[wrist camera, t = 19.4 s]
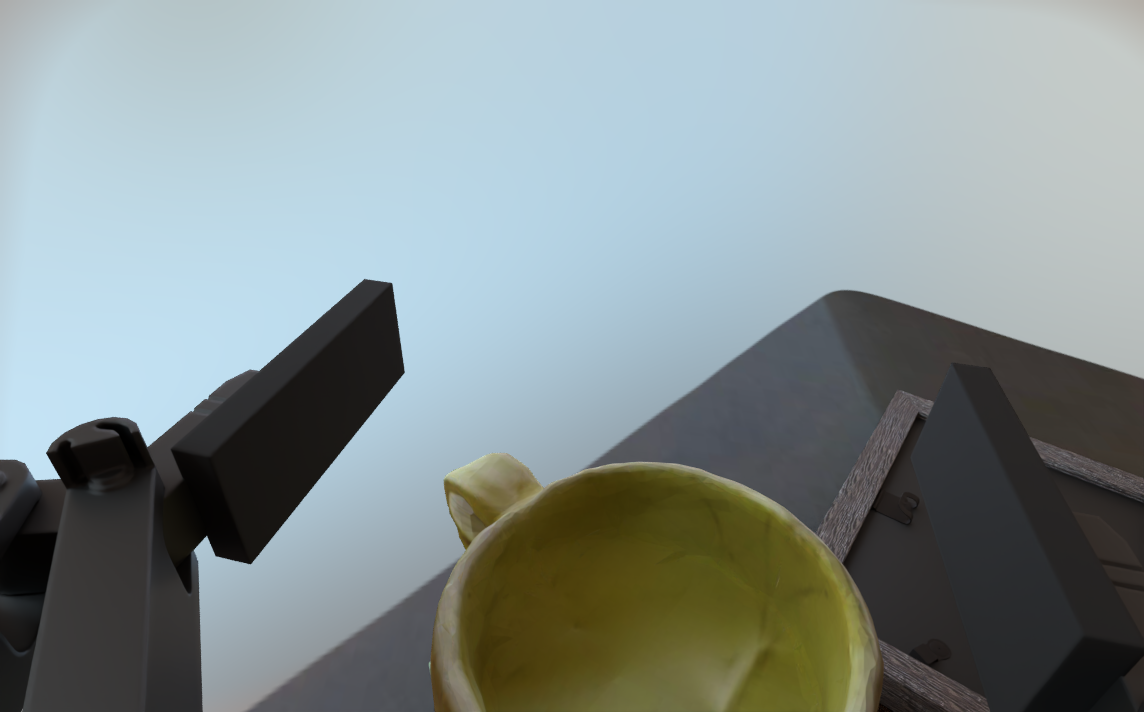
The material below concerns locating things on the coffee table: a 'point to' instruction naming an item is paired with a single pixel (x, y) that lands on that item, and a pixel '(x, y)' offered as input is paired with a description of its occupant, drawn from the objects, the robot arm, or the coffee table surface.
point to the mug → (643, 598)
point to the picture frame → (938, 556)
